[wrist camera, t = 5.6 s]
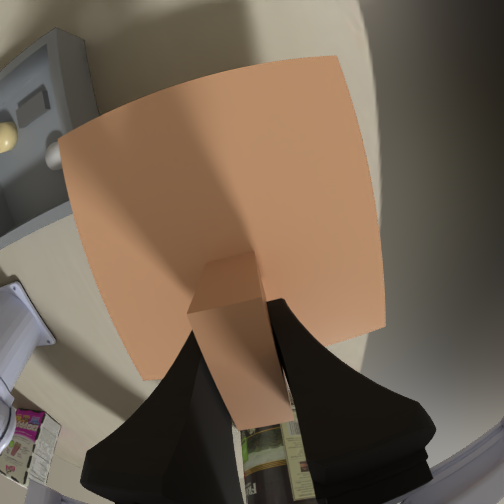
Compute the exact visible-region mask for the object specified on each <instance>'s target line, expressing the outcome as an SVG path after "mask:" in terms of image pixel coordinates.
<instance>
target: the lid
mask: <svg viewBox="0 0 504 504" xmlns="http://www.w3.org/2000/svg"><path fill="white" fill-rule="evenodd" d="M58 145H59V151H60V157H61V163H62V168H63V173H64V178H65V183H66V187H67V191H68V196H69V200H70V204H71V208H72V211H73V215H74V219H75V222H76V226H77V229H78V232H79V236H80V239H81V242H82V245H83V248H84V251H85V254H86V257H87V260H88V263H89V265H90V268H91V271H92V274H93V276H94V279H95V281H96V284H97V287H98V289H99V291H100V294H101V296H102V299H103V301H104V303H105V306H106V308H107V310H108V313H109V315H110V317H111V319H112V321H113V324H114V326H115V328H116V330H117V332H118V334H119V336H120V338H121V340H122V342H123V344H124V346H125V348H126V350H127V352H128V354H129V356H130V358H131V359H132V361H133V363H134V365H135V367H136V368H137V370H138V372H139V374H140V376H141V377H142V379H143V381H145V380H156V379H163V378H164V376H165V375H166V373H167V372H168V370H169V369H170V367H171V366H172V364H173V362H174V361H175V359H176V358H177V356H178V354H179V352H180V351H181V349H182V347H183V345H184V344H185V342H186V340H187V338H188V336H189V334H190V332H191V331H192V330H193V332H194V335H195V337H196V340H197V342H198V345H199V347H200V349H201V352H202V354H203V356H204V359H205V361H206V363H207V366H208V368H209V370H210V373H211V375H212V377H213V379H214V381H215V384H216V386H217V388H218V390H219V392H220V394H221V397H222V399H223V401H224V403H225V405H226V407H227V409H228V411H229V413H230V415H231V417H232V419H233V421H234V423H235V425H236V427H237V429H238V431H240V430H246V429H253V428H259V427H264V426H270V425H275V424H280V423H284V422H289V421H293V420H294V416H293V411H292V406H291V402H290V397H289V392H288V387H287V382H286V378H285V373H284V370H283V367H282V364H281V360H280V356H279V352H278V349H277V345H276V341H275V337H274V334H273V330H272V326H271V323H270V319H269V314H268V309H267V303H266V302H267V301H271V300H275V299H279V298H283V299H285V301H286V303H287V305H288V306H289V308H290V309H291V311H292V312H293V313H294V315H295V316H296V317H297V319H298V320H299V321H300V322H301V323H302V324H303V326H304V327H305V328H306V329H307V330H308V331H309V332H310V333H311V334H312V335H313V336H314V337H315V338H316V339H317V340H318V341H319V342H320V343H321V344H322V345H323V346H324V347H325V346H328V345H331V344H335V343H338V342H341V341H344V340H348V339H351V338H354V337H357V336H360V335H363V334H366V333H369V332H371V331H374V330H377V329H380V328H383V327H385V326H386V324H385V323H386V321H385V320H386V319H385V291H384V276H383V262H382V252H381V242H380V234H379V226H378V219H377V212H376V205H375V199H374V193H373V188H372V182H371V177H370V172H369V167H368V162H367V158H366V153H365V149H364V144H363V140H362V136H361V132H360V128H359V125H358V121H357V117H356V114H355V110H354V107H353V103H352V100H351V97H350V93H349V90H348V87H347V84H346V81H345V78H344V75H343V72H342V69H341V67H340V64H339V61H338V58H337V56H320V57H308V58H298V59H290V60H282V61H275V62H269V63H263V64H257V65H252V66H247V67H242V68H237V69H232V70H228V71H224V72H220V73H216V74H212V75H208V76H204V77H201V78H197V79H194V80H191V81H187V82H184V83H181V84H178V85H175V86H172V87H169V88H166V89H163V90H160V91H157V92H155V93H152V94H149V95H147V96H144V97H142V98H139V99H137V100H134V101H132V102H129V103H127V104H125V105H122V106H120V107H118V108H116V109H114V110H111V111H109V112H107V113H105V114H103V115H101V116H99V117H97V118H95V119H93V120H91V121H89V122H87V123H85V124H83V125H81V126H79V127H78V128H76V129H74V130H72V131H70V132H69V133H67V134H65V135H63V136H62V137H60V138H58Z"/></svg>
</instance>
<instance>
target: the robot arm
mask: <svg viewBox="0 0 504 504" xmlns="http://www.w3.org/2000/svg"><path fill="white" fill-rule="evenodd" d="M266 303H267V309H268V314H269V319H270V323H271V326H272V330H273V334H274V337H275V341H276V345H277V349H278V352H279V356H280V360H281V364H282V367H283V370H284V373H285V376H286V379H287V382H288V385H289V388H290V391H291V394H292V397H293V401H294V405H295V410H296V415H297V419H298V424H299V429H300V433H301V438H302V443H303V448H304V453H305V458H306V461H307V465H308V468H309V472H310V475H311V479H312V483H313V488H314V492H315V497H316V500H317V503H318V504H397V503H399V502H401V503H400V504H497V503H498V502H499V501H500V500H501V499H502V498H503V497H504V417H503V418H502V420H501V421H500V422H499V423H498V424H496V425H495V426H494V427H493V428H491V429H490V430H489V431H487V432H486V433H485V434H483V435H482V436H481V437H479V438H478V439H477V440H475V441H474V442H472V443H471V444H469V445H468V446H466V447H465V448H463V449H462V450H460V451H459V452H457V453H456V454H454V455H453V456H451V457H449V458H448V459H446V460H444V461H442V462H441V463H439V464H437V465H436V466H434V467H432V468H429V466H428V464H427V462H426V459H427V458H428V455H427V452H426V450H425V446H426V445H427V444H428V443H429V442H430V440H431V439H432V438H433V436H434V434H435V432H436V427H435V425H434V423H433V421H432V420H431V418H430V416H429V415H428V414H427V412H426V411H425V409H424V408H423V407H422V406H421V405H420V403H419V402H417V401H415V400H412V399H409V398H407V397H404V396H402V395H400V394H397V393H395V392H393V391H391V390H389V389H387V388H385V387H383V386H381V385H379V384H377V383H375V382H373V381H372V380H370V379H369V378H367V377H365V376H364V375H362V374H360V373H359V372H357V371H355V370H354V369H352V368H351V367H349V366H348V365H347V364H345V363H344V362H342V361H341V360H340V359H339V358H337V357H336V356H335V355H334V354H332V353H331V352H330V351H329V350H328V349H326V348H325V347H324V346H323V345H322V344H321V343H320V342H319V341H318V340H317V339H316V338H315V337H314V336H313V335H312V334H311V333H310V332H309V331H308V330H307V329H306V328H305V327H304V326H303V324H302V323H301V322H300V321H299V320H298V319H297V317H296V316H295V315H294V313H293V312H292V311H291V309H290V308H289V306H288V305H287V303H286V301H285V299H283V298H279V299H275V300H271V301H267V302H266ZM55 343H56V340H55V338H54V337H53V335H52V334H51V332H50V331H49V330H48V328H47V327H46V325H45V324H44V322H43V321H42V319H41V318H40V316H39V315H38V313H37V311H36V310H35V308H34V307H33V305H32V303H31V302H30V300H29V298H28V296H27V295H26V293H25V291H24V289H23V288H22V286H21V284H20V283H19V282H18V281H15V282H13V283H10V284H7V285H5V286H2V287H0V454H1V452H2V451H3V449H4V448H6V446H7V445H8V444H9V443H10V441H11V439H12V437H13V435H14V432H15V428H16V413H15V409H14V407H13V406H12V403H13V401H14V397H13V396H12V395H11V394H10V393H11V391H12V389H13V387H14V385H15V383H16V381H17V380H18V378H19V376H20V374H21V372H22V370H23V369H24V367H25V365H26V363H27V361H28V360H29V358H30V356H31V355H32V353H33V351H34V350H35V348H36V346H45V345H54V344H55ZM80 483H81V484H82V486H83V487H84V488H86V489H87V490H89V491H91V492H93V493H95V494H97V495H99V496H101V497H104V498H106V499H108V500H110V501H113V502H115V504H244V502H243V498H242V492H241V488H240V482H239V477H238V471H237V465H236V458H235V451H234V444H233V435H232V422H231V415H230V413H229V411H228V409H227V407H226V405H225V403H224V401H223V399H222V397H221V394H220V392H219V390H218V388H217V386H216V384H215V381H214V379H213V377H212V375H211V373H210V370H209V368H208V366H207V363H206V361H205V359H204V356H203V354H202V352H201V349H200V347H199V345H198V342H197V340H196V337H195V335H194V332H193V330H192V331H191V332H190V334H189V336H188V338H187V340H186V342H185V344H184V345H183V347H182V349H181V351H180V352H179V354H178V356H177V358H176V359H175V361H174V362H173V364H172V366H171V367H170V369H169V370H168V372H167V373H166V375H165V376H164V378H163V379H162V381H161V382H160V384H159V385H158V386H157V387H156V389H155V390H154V391H153V392H152V394H151V395H150V396H149V397H148V399H147V400H146V401H145V402H144V403H143V404H142V405H141V406H140V407H139V408H138V409H137V410H136V412H135V413H134V414H133V415H132V416H131V417H130V418H129V419H128V420H126V421H125V422H124V423H123V424H122V425H121V426H120V427H119V428H118V429H116V430H115V431H114V432H113V433H112V434H110V435H109V436H108V437H106V438H105V439H104V440H102V441H101V442H99V443H98V444H97V445H95V446H94V447H92V448H91V449H89V450H88V451H87V453H86V457H85V461H84V465H83V470H82V474H81V479H80ZM24 504H87V503H84V502H81V501H78V500H75V499H72V498H69V497H66V496H64V495H61V494H60V493H59V492H57V491H55V490H53V489H51V488H49V487H47V486H45V485H43V484H40V483H38V482H36V481H34V480H30V481H29V485H28V489H27V494H26V499H25V503H24Z"/></svg>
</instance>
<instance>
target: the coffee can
mask: <svg viewBox="0 0 504 504" xmlns="http://www.w3.org/2000/svg"><path fill="white" fill-rule="evenodd" d="M291 406H292V411H293V416H294V420H293V421H289V422H284V423H280V424H275V425H270V426H264V427H259V428H253V429H246V430H240V432H241V445H242V457H243V469H244V480H245V491H246V502H247V504H318V503H317V500H316V497H315V492H314V488H313V483H312V479H311V475H310V472H309V468H308V465H307V461H306V458H305V453H304V448H303V443H302V438H301V433H300V429H299V424H298V419H297V415H296V410H295V405H291Z"/></svg>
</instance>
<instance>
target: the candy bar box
mask: <svg viewBox="0 0 504 504" xmlns="http://www.w3.org/2000/svg"><path fill="white" fill-rule="evenodd" d="M60 429H61V425H60V424H59V423H58V422H56V421H55V420H54V419H53V418H52V417H50V416H49V415H48V414H47V413H46V412H41V411H33V410H25V409H17V411H16V428H15V432H14V435H13V437H12V439H11V441H10V443H9V444H8V445H7V446H6V448H4V449H3V451H2V452H1V455H0V473H1V474H2V475H4V476H5V477H7V478H8V479H10V480H12V481H13V482H15V483H17V484H19V485H21V486H22V487H24V488H27V489H28V485H29V481H30V480H34V481H36V482H38V483H40V484H43V485H45V486H46V483H47V478H48V474H49V469H50V464H51V461H52V457H53V454H54V450H55V446H56V443H57V439H58V436H59V433H60Z"/></svg>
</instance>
